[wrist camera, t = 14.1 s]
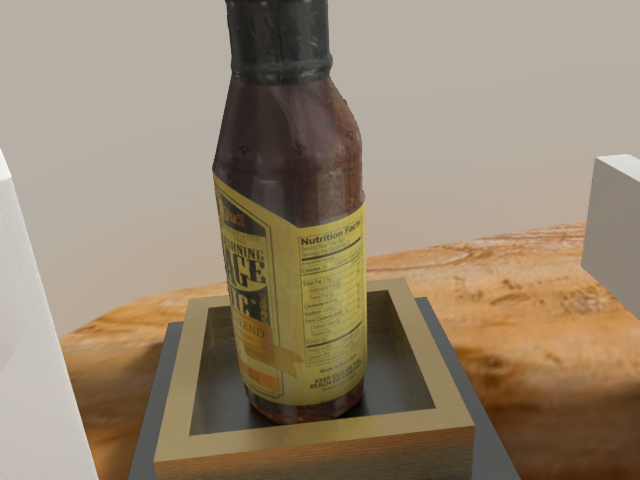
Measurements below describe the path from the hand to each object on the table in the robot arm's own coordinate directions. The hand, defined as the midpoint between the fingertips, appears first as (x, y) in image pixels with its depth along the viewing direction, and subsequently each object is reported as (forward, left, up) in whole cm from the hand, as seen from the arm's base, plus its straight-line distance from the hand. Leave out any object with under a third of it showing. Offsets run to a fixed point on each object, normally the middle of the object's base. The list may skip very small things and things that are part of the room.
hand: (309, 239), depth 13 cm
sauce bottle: (0, -12, -14) cm, 18 cm away
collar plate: (0, -12, -15) cm, 19 cm away
